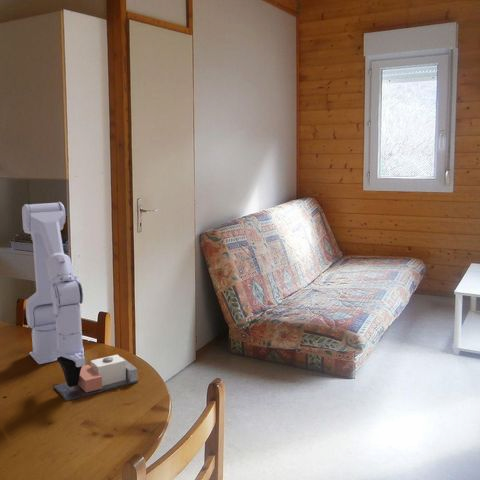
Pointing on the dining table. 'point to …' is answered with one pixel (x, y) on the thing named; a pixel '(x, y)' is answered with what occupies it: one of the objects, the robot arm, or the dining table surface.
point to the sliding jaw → (89, 379)
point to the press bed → (78, 392)
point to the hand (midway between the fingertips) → (72, 385)
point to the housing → (110, 369)
